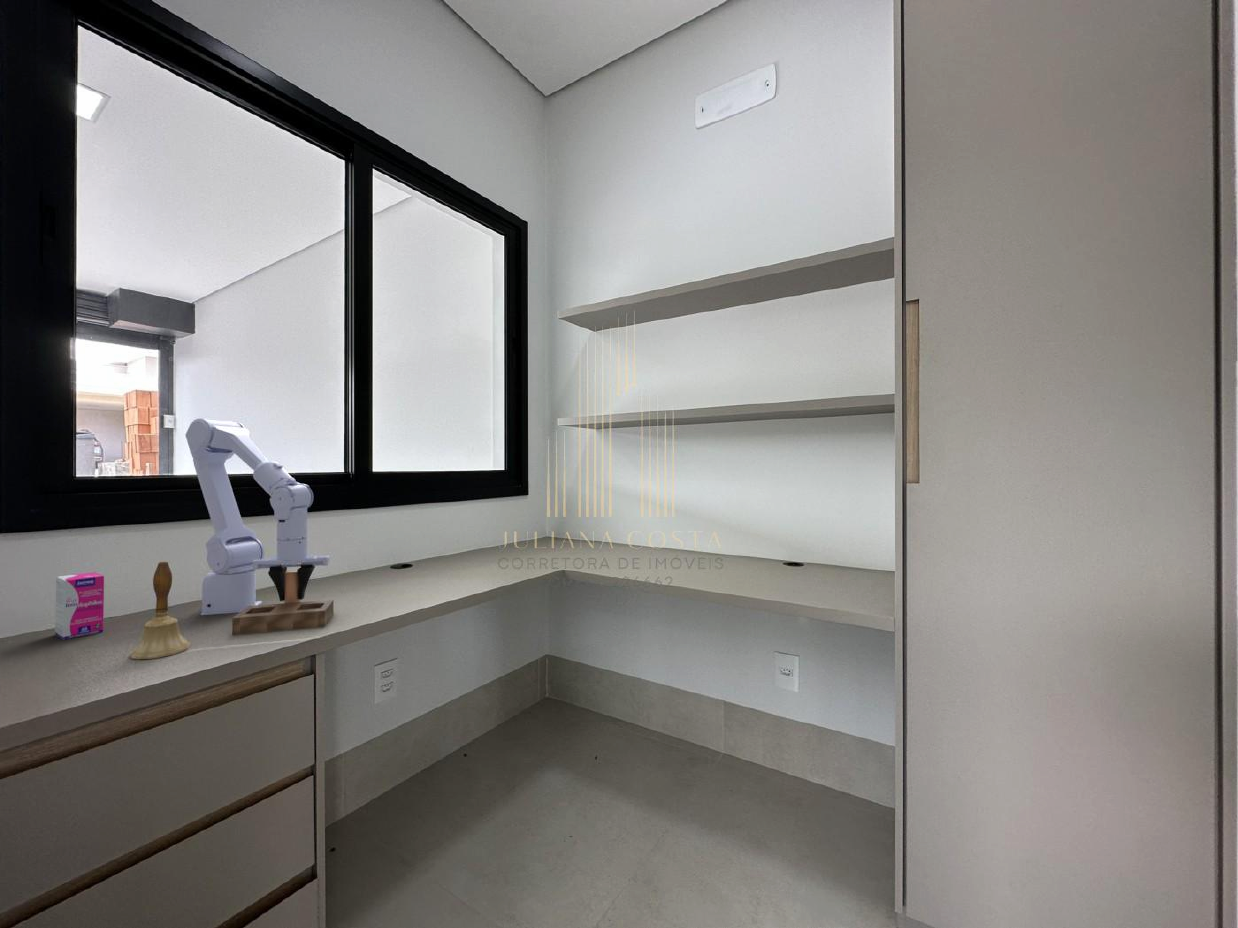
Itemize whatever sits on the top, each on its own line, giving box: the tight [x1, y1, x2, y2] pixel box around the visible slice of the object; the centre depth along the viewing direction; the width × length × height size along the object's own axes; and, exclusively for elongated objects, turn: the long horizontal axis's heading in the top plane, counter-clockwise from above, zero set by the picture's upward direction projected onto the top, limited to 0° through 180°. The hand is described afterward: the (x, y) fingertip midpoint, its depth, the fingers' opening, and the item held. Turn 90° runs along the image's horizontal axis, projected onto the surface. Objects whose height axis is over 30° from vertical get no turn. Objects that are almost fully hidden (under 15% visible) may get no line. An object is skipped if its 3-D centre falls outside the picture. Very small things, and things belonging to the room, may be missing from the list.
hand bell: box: [129, 561, 192, 660], centre depth 93 cm, size 8×8×16 cm
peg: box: [283, 570, 301, 603], centre depth 116 cm, size 3×3×9 cm
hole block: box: [231, 599, 334, 636], centre depth 108 cm, size 16×9×4 cm, turn 109°
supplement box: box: [54, 571, 105, 641], centre depth 103 cm, size 6×6×12 cm
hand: (292, 599), depth 116 cm, fingers closed on peg, 3 cm apart
